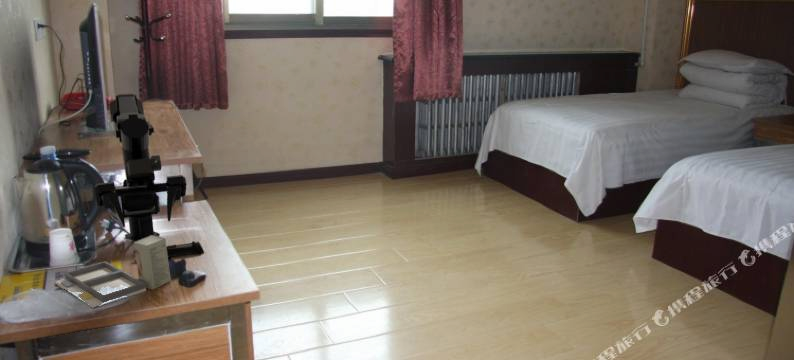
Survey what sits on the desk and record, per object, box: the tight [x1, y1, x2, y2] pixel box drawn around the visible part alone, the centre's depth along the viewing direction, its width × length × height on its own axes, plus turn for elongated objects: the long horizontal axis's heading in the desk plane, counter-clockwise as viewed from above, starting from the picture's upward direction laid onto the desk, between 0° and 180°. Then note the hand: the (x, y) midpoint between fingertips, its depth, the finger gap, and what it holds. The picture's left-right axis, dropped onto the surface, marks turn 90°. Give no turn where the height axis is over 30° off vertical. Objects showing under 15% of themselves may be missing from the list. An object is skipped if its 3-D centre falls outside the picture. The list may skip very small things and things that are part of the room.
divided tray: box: [54, 260, 147, 309], centre depth 133 cm, size 18×11×2 cm, turn 49°
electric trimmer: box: [134, 240, 205, 258], centre depth 150 cm, size 4×16×3 cm, turn 113°
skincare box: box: [133, 235, 171, 290], centre depth 133 cm, size 5×4×10 cm
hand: (147, 223), depth 136 cm, fingers open, 9 cm apart
